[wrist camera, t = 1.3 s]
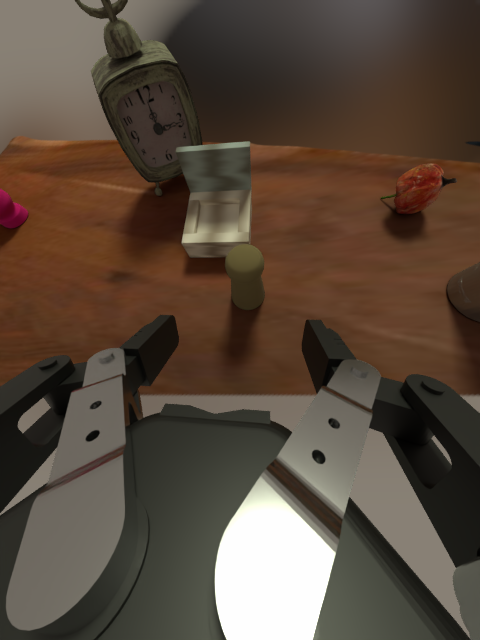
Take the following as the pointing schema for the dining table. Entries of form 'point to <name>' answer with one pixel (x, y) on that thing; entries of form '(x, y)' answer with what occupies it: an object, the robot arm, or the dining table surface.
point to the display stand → (216, 198)
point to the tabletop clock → (143, 97)
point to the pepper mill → (11, 212)
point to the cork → (245, 276)
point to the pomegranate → (419, 188)
